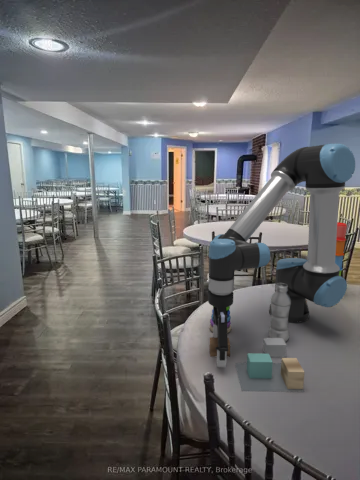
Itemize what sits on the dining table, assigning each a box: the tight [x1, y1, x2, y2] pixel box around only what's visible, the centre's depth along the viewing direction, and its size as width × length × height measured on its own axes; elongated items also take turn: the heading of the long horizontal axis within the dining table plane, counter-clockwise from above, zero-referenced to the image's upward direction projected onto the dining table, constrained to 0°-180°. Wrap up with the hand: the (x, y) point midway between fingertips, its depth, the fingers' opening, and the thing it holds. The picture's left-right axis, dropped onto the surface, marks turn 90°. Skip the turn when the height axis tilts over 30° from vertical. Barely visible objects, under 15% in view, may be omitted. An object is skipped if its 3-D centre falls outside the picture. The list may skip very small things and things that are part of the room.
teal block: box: [246, 352, 274, 379], centre depth 83 cm, size 6×4×5 cm, turn 88°
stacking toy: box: [209, 306, 232, 334], centre depth 107 cm, size 8×8×19 cm
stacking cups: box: [335, 221, 348, 277], centre depth 135 cm, size 10×10×35 cm
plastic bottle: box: [268, 283, 291, 343], centre depth 100 cm, size 6×7×20 cm
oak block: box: [280, 357, 305, 390], centre depth 80 cm, size 6×4×5 cm, turn 178°
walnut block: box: [208, 336, 231, 358], centre depth 93 cm, size 6×4×5 cm, turn 89°
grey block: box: [262, 337, 288, 358], centre depth 93 cm, size 6×4×5 cm, turn 88°
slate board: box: [234, 362, 305, 393], centre depth 82 cm, size 16×12×1 cm
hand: (219, 354), depth 94 cm, fingers open, 13 cm apart
